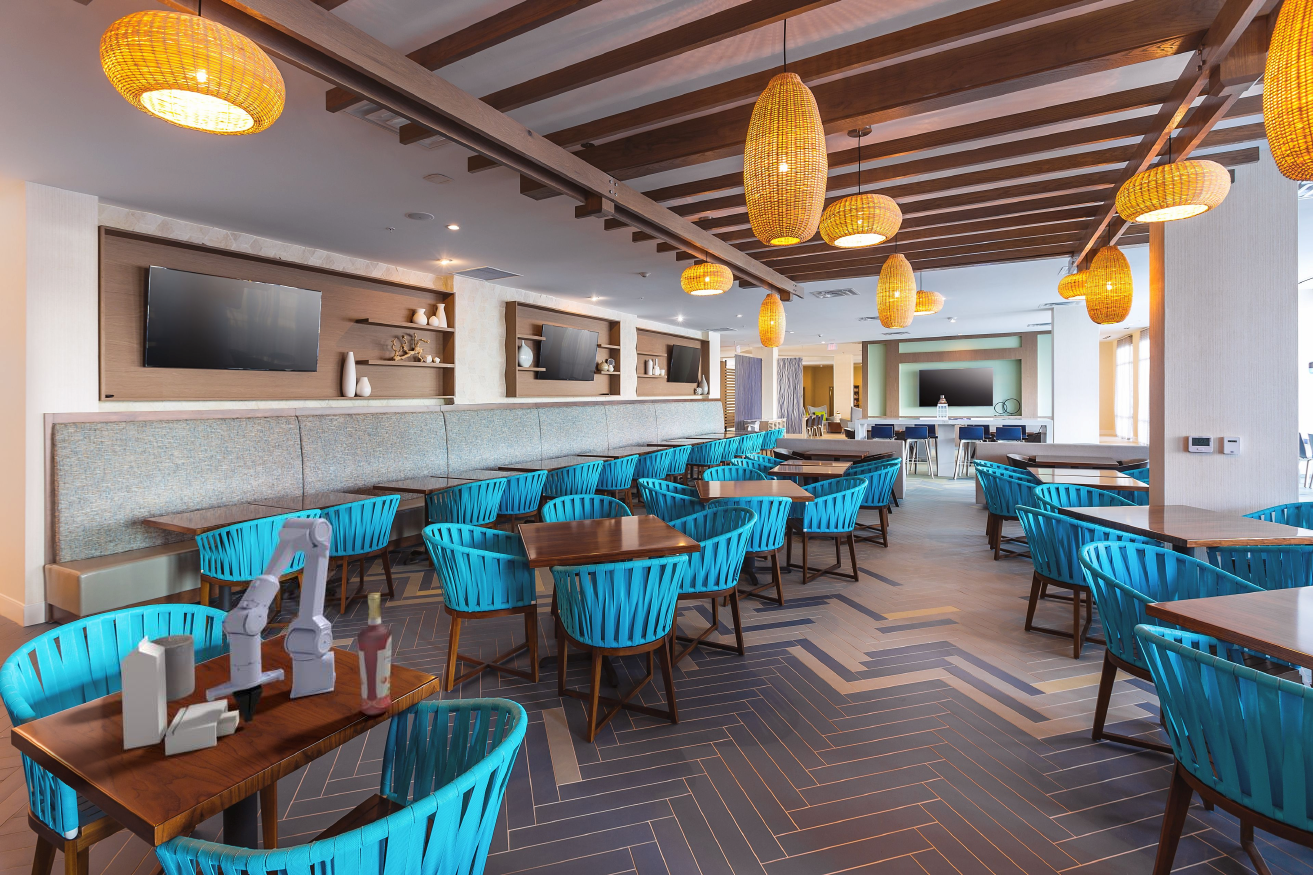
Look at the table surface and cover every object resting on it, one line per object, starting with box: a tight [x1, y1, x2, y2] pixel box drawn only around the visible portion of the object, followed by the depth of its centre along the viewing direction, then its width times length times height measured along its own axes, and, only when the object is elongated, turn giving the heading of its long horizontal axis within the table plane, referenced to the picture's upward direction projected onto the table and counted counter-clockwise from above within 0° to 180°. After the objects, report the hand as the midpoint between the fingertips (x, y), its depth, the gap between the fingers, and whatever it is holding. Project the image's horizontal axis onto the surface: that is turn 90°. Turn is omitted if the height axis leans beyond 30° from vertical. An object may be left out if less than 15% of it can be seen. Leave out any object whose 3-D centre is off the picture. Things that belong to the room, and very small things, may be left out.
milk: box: [120, 635, 168, 750], centre depth 131 cm, size 6×6×22 cm
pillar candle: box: [149, 634, 196, 703], centre depth 152 cm, size 10×10×15 cm
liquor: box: [357, 592, 393, 717], centre depth 143 cm, size 7×7×28 cm
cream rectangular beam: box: [216, 709, 240, 738], centre depth 135 cm, size 10×6×2 cm, turn 115°
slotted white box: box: [164, 698, 229, 756], centre depth 133 cm, size 8×13×4 cm, turn 26°
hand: (247, 720), depth 137 cm, fingers closed
